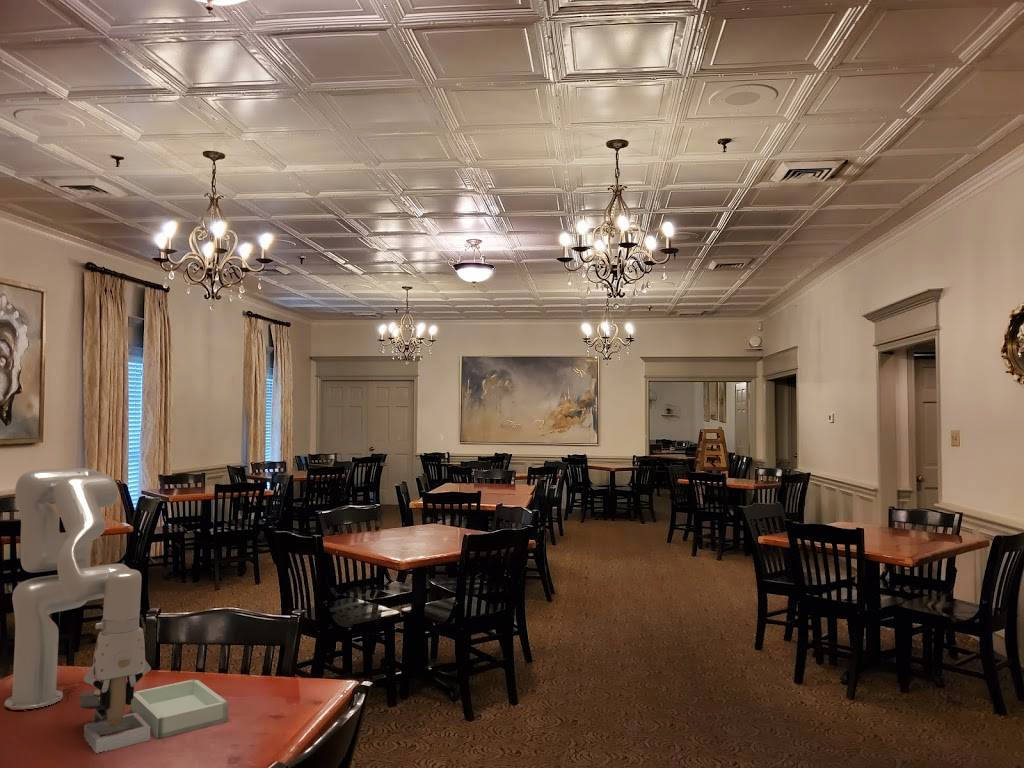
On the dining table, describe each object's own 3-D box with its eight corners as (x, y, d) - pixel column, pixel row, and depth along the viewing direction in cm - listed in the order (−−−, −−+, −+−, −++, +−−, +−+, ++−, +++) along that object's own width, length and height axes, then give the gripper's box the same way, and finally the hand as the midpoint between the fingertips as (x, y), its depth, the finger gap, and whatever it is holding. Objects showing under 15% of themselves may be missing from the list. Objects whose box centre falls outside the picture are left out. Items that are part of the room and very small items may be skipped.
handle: (116, 730, 167) (120, 662, 167) (95, 725, 169) (99, 658, 170) (134, 722, 171) (138, 656, 172) (114, 717, 174) (118, 652, 174)
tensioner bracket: (73, 724, 177) (75, 689, 178) (124, 713, 185) (125, 679, 185) (95, 753, 162) (97, 715, 162) (149, 740, 169) (151, 703, 169)
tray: (130, 710, 186) (130, 692, 186) (195, 696, 197) (196, 678, 197) (157, 739, 170) (158, 718, 170) (227, 721, 180) (228, 702, 181)
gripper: (83, 635, 163) (78, 720, 162) (164, 622, 174) (160, 702, 173) (76, 626, 168) (71, 709, 167) (154, 615, 179) (150, 692, 179)
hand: (116, 704), depth 170 cm, fingers closed on handle, 4 cm apart
